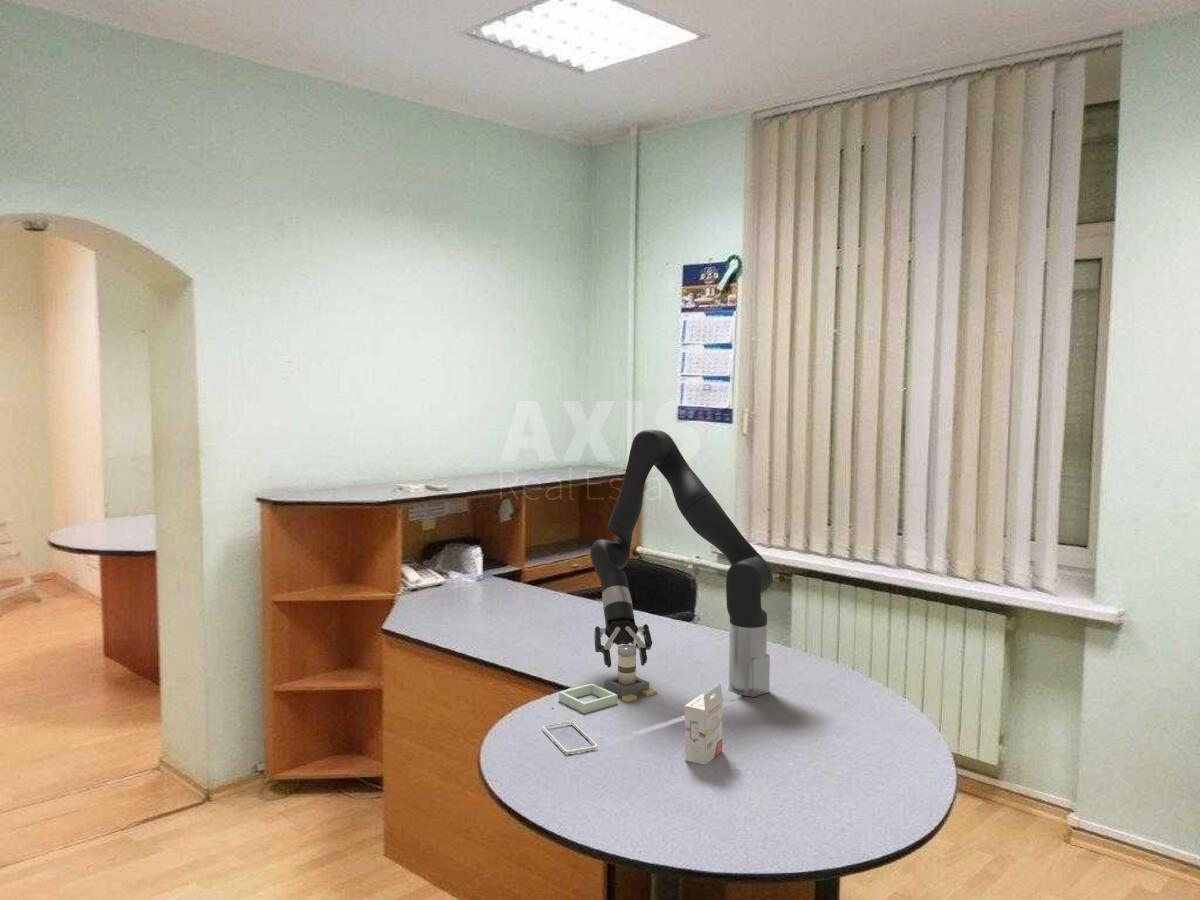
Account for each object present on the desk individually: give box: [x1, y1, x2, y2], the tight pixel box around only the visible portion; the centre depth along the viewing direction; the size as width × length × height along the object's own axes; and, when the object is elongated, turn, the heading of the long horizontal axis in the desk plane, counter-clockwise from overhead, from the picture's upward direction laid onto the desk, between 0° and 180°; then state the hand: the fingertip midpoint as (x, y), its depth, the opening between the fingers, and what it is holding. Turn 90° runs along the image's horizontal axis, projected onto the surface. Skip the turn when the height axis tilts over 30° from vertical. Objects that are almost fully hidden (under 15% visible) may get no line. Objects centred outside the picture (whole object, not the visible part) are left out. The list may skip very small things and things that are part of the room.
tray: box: [558, 683, 619, 714], centre depth 213 cm, size 10×10×3 cm
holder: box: [600, 676, 659, 704], centre depth 221 cm, size 12×10×4 cm
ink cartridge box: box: [684, 683, 723, 766], centre depth 185 cm, size 9×5×15 cm, turn 148°
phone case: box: [542, 720, 598, 754], centre depth 194 cm, size 7×1×15 cm
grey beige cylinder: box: [617, 644, 637, 687], centre depth 220 cm, size 5×5×11 cm
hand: (626, 665), depth 220 cm, fingers open, 8 cm apart
